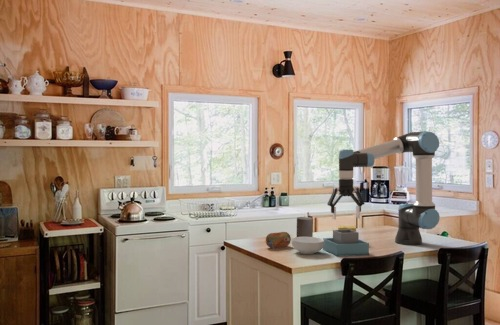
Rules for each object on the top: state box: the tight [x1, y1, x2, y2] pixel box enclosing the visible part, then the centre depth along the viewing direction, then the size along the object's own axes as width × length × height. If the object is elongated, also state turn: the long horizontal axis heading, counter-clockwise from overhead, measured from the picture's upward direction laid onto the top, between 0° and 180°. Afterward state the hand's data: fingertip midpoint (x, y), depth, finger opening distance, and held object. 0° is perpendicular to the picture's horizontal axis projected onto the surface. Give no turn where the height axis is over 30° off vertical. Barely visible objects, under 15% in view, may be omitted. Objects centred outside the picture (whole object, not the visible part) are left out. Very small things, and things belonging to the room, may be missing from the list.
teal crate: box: [322, 237, 370, 257], centre depth 256 cm, size 18×18×6 cm
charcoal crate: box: [332, 229, 360, 244], centre depth 256 cm, size 10×10×10 cm
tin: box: [265, 231, 292, 249], centre depth 268 cm, size 15×3×8 cm, turn 117°
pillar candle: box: [296, 216, 314, 237], centre depth 287 cm, size 10×10×15 cm
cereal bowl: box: [291, 236, 324, 255], centre depth 254 cm, size 17×17×7 cm
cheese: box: [337, 225, 357, 232], centre depth 279 cm, size 10×11×10 cm
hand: (346, 218), depth 256 cm, fingers open, 13 cm apart
